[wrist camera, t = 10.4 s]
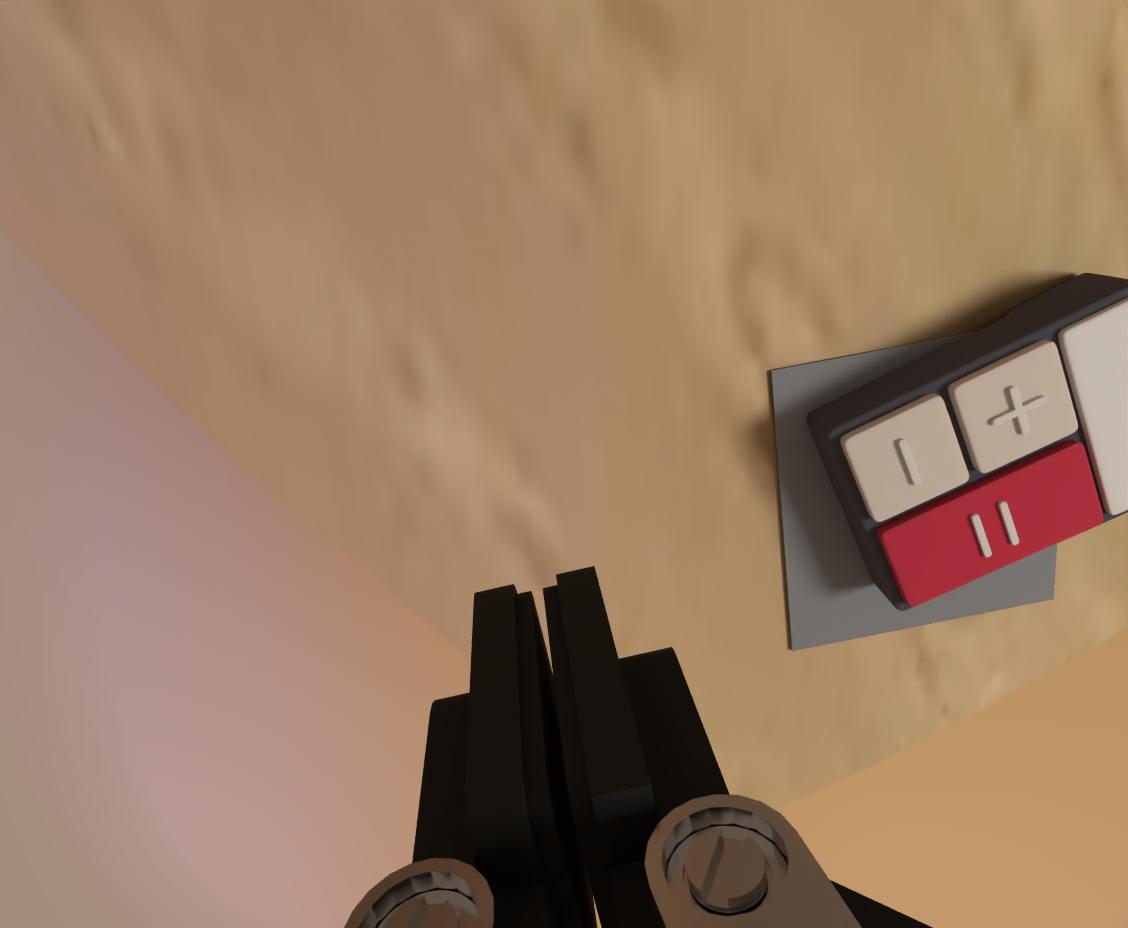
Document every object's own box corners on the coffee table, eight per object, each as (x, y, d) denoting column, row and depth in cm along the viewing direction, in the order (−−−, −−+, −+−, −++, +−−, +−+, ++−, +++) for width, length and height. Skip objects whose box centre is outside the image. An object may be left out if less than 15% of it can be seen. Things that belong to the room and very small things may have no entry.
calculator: (830, 438, 34) (1161, 279, 32) (797, 411, 38) (1090, 268, 36) (905, 624, 37) (1206, 490, 35) (869, 580, 41) (1137, 459, 39)
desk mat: (770, 370, 36) (771, 370, 36) (1069, 314, 37) (1071, 314, 37) (791, 649, 42) (792, 651, 42) (1051, 597, 42) (1053, 599, 42)
